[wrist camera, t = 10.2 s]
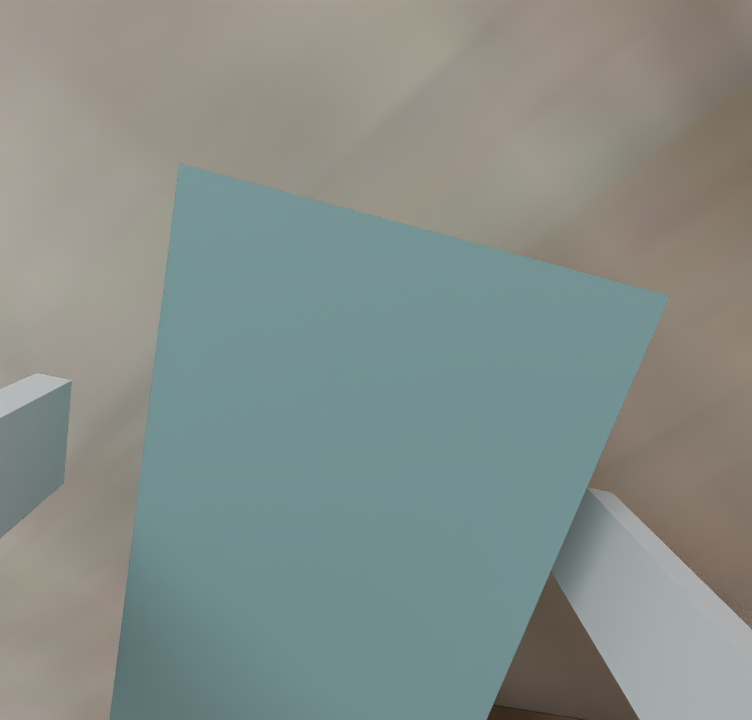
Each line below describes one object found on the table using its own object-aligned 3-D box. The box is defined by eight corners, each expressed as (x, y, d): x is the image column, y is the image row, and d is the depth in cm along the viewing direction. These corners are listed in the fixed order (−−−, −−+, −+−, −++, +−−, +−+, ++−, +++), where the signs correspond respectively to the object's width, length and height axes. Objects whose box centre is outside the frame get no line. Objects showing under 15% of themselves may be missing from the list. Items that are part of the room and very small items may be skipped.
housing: (223, 504, 19) (108, 732, 10) (279, 202, 16) (179, 163, 7) (416, 541, 20) (459, 781, 11) (507, 263, 16) (670, 295, 8)
